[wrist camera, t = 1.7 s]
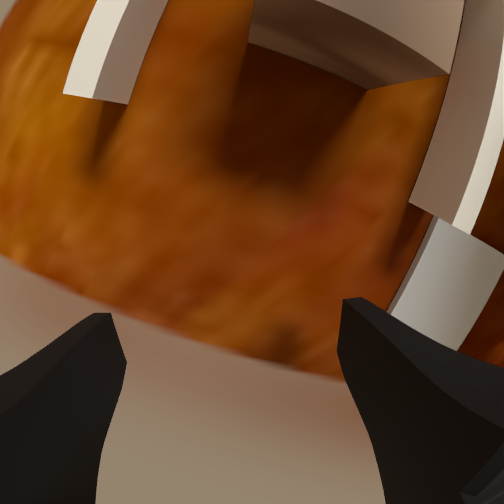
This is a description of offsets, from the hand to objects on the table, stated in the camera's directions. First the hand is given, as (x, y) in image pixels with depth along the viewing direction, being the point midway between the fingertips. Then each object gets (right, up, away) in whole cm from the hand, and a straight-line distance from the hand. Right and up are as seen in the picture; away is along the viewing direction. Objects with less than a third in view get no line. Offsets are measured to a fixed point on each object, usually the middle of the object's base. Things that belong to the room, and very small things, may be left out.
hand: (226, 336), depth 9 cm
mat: (+10, +1, +4) cm, 11 cm away
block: (+3, +11, -1) cm, 12 cm away
